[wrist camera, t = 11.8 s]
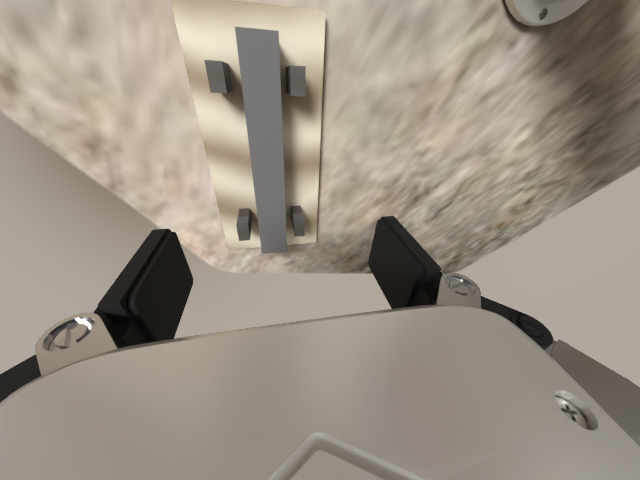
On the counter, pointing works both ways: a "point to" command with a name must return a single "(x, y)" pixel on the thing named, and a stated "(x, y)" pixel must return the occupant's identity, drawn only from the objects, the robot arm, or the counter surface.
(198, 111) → the clip board
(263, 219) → the bar
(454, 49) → the counter surface
